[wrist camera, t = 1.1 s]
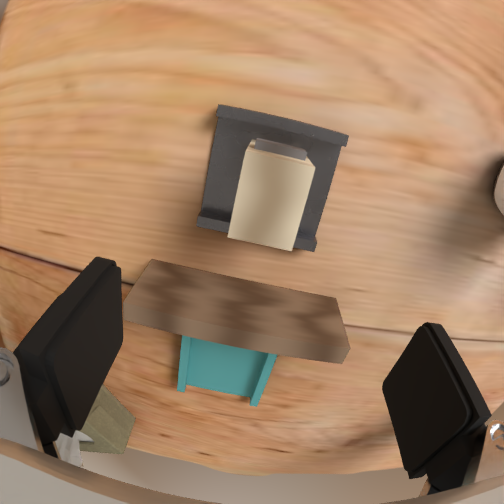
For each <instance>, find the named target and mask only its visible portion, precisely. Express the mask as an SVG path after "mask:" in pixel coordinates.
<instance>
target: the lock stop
mask: <svg viewBox="0 0 504 504" xmlns="http://www.w3.org/2000/svg"><path fill="white" fill-rule="evenodd" d="M314 171H315V166H314V165H313V164H312V163H311V161H310V160H309V159H308V157H307V152H306V150H305V149H302V148H298V147H294V146H290V145H286V144H282V143H278V142H274V141H269V140H265V139H260V138H257V139H256V140H254V139H252V140H251V142H250V144H249V146H248V147H247V149H246V151H245V156H244V160H243V165H242V170H241V174H240V179H239V184H238V189H237V193H236V198H235V203H234V208H233V213H232V218H231V222H230V227H229V232H228V238H233V239H237V240H242V241H247V242H251V243H256V244H260V245H265V246H270V247H274V248H279V249H283V250H288V251H292V248H293V245H294V242H295V238H296V235H297V232H298V228H299V225H300V221H301V218H302V214H303V211H304V207H305V204H306V200H307V197H308V193H309V190H310V186H311V182H312V179H313V175H314Z"/></svg>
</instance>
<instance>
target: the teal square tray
mask: <svg viewBox="0 0 504 504" xmlns="http://www.w3.org/2000/svg"><path fill="white" fill-rule="evenodd" d="M276 357H277V354H271V353H265V352H259V351H254V350H249V349H243V348H238V347H233V346H228V345H224V344H219V343H214V342H210V341H205V340H201V339H196V338H192V337H188V336H183V335H182V342H181V352H180V363H179V374H178V386H177V391H181V392H185V388H186V384H187V385H191V386H196V387H200V388H205V389H209V390H214V391H219V392H224V393H230V394H235V395H241V396H246V397H250V406H257V405H258V402H259V400H260V398H261V395H262V393H263V390H264V388H265V385H266V383H267V380H268V378H269V375H270V373H271V370H272V368H273V365H274V362H275V360H276Z"/></svg>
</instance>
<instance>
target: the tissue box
mask: <svg viewBox="0 0 504 504" xmlns="http://www.w3.org/2000/svg"><path fill="white" fill-rule="evenodd" d="M135 419H136V418H135V417H134V416H133V415H132V414H131V413H130V412H129V411H128V410H127V409H126V408H125V407H124V406H123V405H122V404H121V403H120V402H119V401H118V400H117V399H116V398H115V397H114V396H113V395H112V394H111V392H110V391H109V390H108V389H107V388H106V387H105V386H104V385H103V384H102V386H101V389H100V391H99V393H98V395H97V397H96V399H95V401H94V404H93V406H92V408H91V410H90V412H89V415H88V417H87V419H86V421H85V424H84V426H83V428H82V429H81V430H80V431H78V430H76V431H75V433H74V435H73V437H72V438H71V437H69V436H67V435H64V434H62V433H60V435H59V437H58V439H57V440H56V441H55V442H56V445H57V448H58V451H59V454H60V457H61V459H62V460H63V461H65V462H68V463H70V464H73V465H75V466H83V461H82V458H81V454H80V451H88V452H100V453H114V454H115V453H116V454H123V453H124V451H125V448H126V445H127V442H128V439H129V436H130V433H131V430H132V428H133V425H134V422H135Z"/></svg>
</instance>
